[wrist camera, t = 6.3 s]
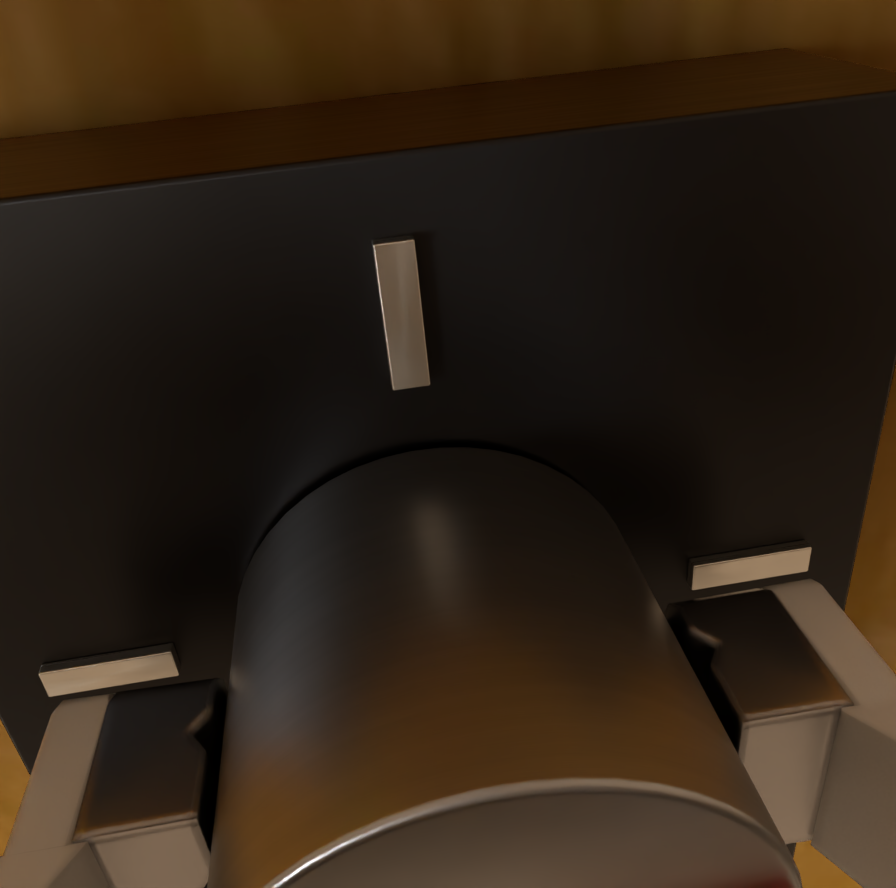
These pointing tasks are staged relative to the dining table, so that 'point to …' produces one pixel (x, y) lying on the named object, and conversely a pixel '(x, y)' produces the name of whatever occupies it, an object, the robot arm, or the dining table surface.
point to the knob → (471, 699)
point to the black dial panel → (436, 336)
